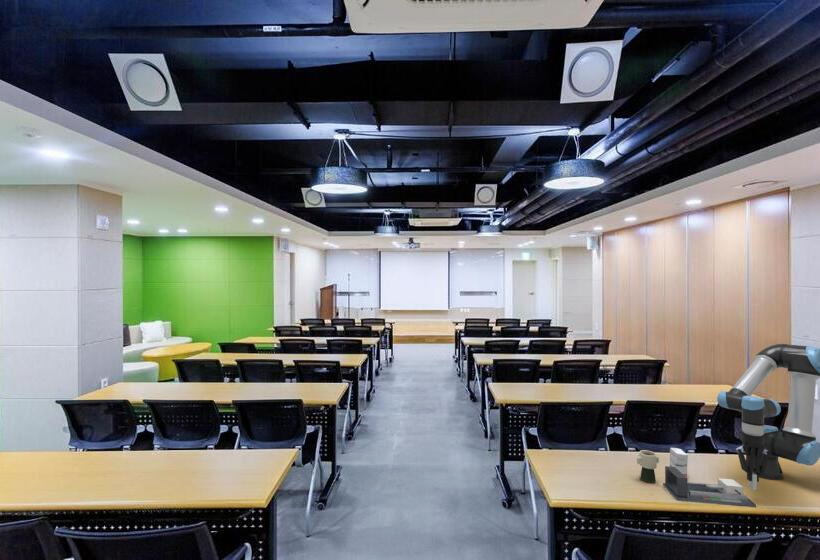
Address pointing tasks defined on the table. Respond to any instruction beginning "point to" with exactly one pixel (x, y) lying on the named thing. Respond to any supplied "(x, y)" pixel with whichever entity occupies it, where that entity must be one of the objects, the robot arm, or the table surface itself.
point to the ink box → (679, 460)
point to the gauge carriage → (727, 487)
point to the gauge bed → (699, 491)
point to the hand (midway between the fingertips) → (752, 488)
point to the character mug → (647, 465)
